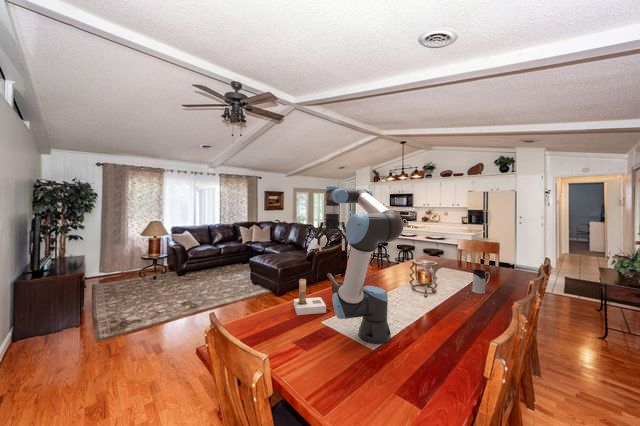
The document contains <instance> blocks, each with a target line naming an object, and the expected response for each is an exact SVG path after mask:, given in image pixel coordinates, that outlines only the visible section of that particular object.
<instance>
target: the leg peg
mask: <svg viewBox="0 0 640 426" xmlns="http://www.w3.org/2000/svg"><path fill="white" fill-rule="evenodd" d="M298 283H299V285H298V286H299V287H298V299H299V305H306V298H307V292H306V291H307V279H306V278H300V279H299V280H298Z"/></svg>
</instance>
